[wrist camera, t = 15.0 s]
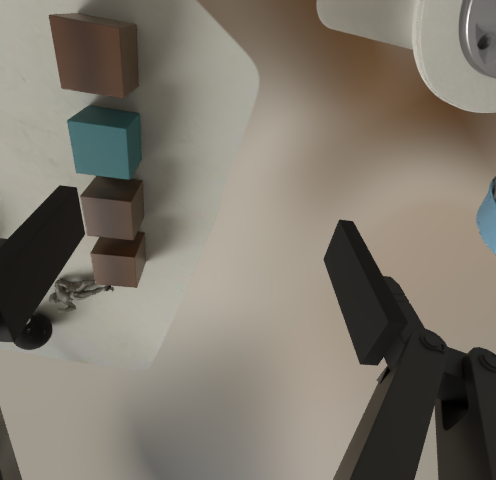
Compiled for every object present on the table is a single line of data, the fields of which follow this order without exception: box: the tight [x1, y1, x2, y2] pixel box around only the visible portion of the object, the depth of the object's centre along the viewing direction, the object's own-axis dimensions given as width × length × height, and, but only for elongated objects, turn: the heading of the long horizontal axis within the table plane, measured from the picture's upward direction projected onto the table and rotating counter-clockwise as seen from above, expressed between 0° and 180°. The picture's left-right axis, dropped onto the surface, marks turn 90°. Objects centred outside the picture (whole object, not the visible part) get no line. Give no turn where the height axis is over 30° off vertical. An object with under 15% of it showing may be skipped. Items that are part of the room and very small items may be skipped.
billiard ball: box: [14, 315, 52, 350], centre depth 57 cm, size 6×6×6 cm
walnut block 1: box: [49, 13, 139, 98], centre depth 32 cm, size 6×6×6 cm
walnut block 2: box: [80, 176, 144, 240], centre depth 42 cm, size 6×6×6 cm
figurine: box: [49, 280, 114, 313], centre depth 54 cm, size 6×4×12 cm
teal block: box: [67, 106, 142, 180], centre depth 37 cm, size 6×6×6 cm
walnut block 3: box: [90, 232, 146, 288], centre depth 48 cm, size 6×6×6 cm
